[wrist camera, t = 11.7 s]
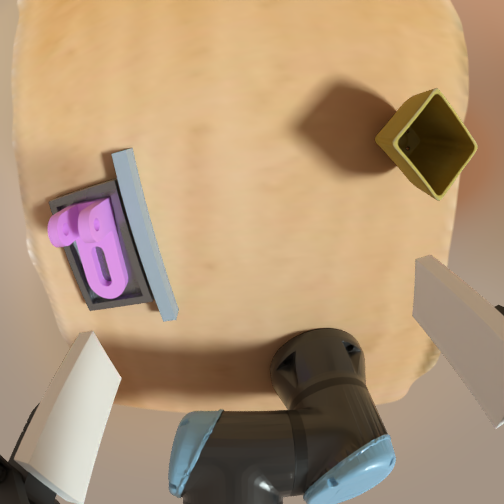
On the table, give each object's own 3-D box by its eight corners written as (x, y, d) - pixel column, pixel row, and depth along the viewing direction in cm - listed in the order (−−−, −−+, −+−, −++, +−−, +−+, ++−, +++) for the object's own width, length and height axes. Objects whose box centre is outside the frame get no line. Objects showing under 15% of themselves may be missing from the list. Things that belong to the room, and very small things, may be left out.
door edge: (178, 309, 41) (176, 319, 39) (166, 311, 41) (163, 321, 39) (132, 148, 32) (125, 149, 30) (118, 152, 32) (111, 154, 30)
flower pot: (396, 90, 31) (437, 85, 23) (436, 139, 33) (479, 147, 25) (355, 138, 33) (391, 143, 25) (399, 185, 36) (439, 203, 28)
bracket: (72, 203, 33) (44, 220, 27) (110, 196, 33) (85, 212, 27) (97, 294, 38) (77, 323, 32) (132, 292, 39) (116, 322, 32)
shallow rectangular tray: (155, 293, 40) (152, 301, 38) (94, 303, 40) (89, 310, 38) (120, 177, 33) (114, 180, 32) (56, 197, 34) (48, 201, 32)
